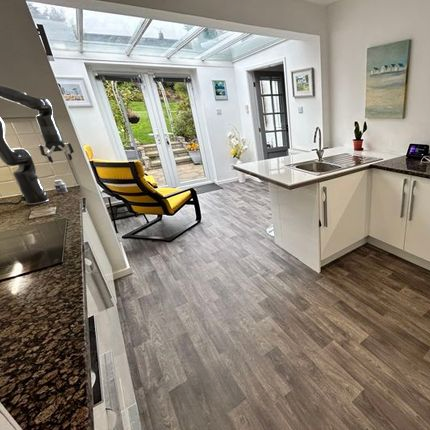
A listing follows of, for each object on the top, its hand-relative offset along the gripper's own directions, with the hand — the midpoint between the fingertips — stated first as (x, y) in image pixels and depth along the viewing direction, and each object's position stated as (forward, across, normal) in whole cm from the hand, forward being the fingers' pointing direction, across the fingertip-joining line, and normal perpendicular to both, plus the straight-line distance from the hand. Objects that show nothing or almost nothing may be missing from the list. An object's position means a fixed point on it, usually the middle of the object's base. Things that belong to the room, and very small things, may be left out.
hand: (61, 161), depth 161 cm
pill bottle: (+25, 0, -26) cm, 36 cm away
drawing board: (+24, +19, +18) cm, 36 cm away
